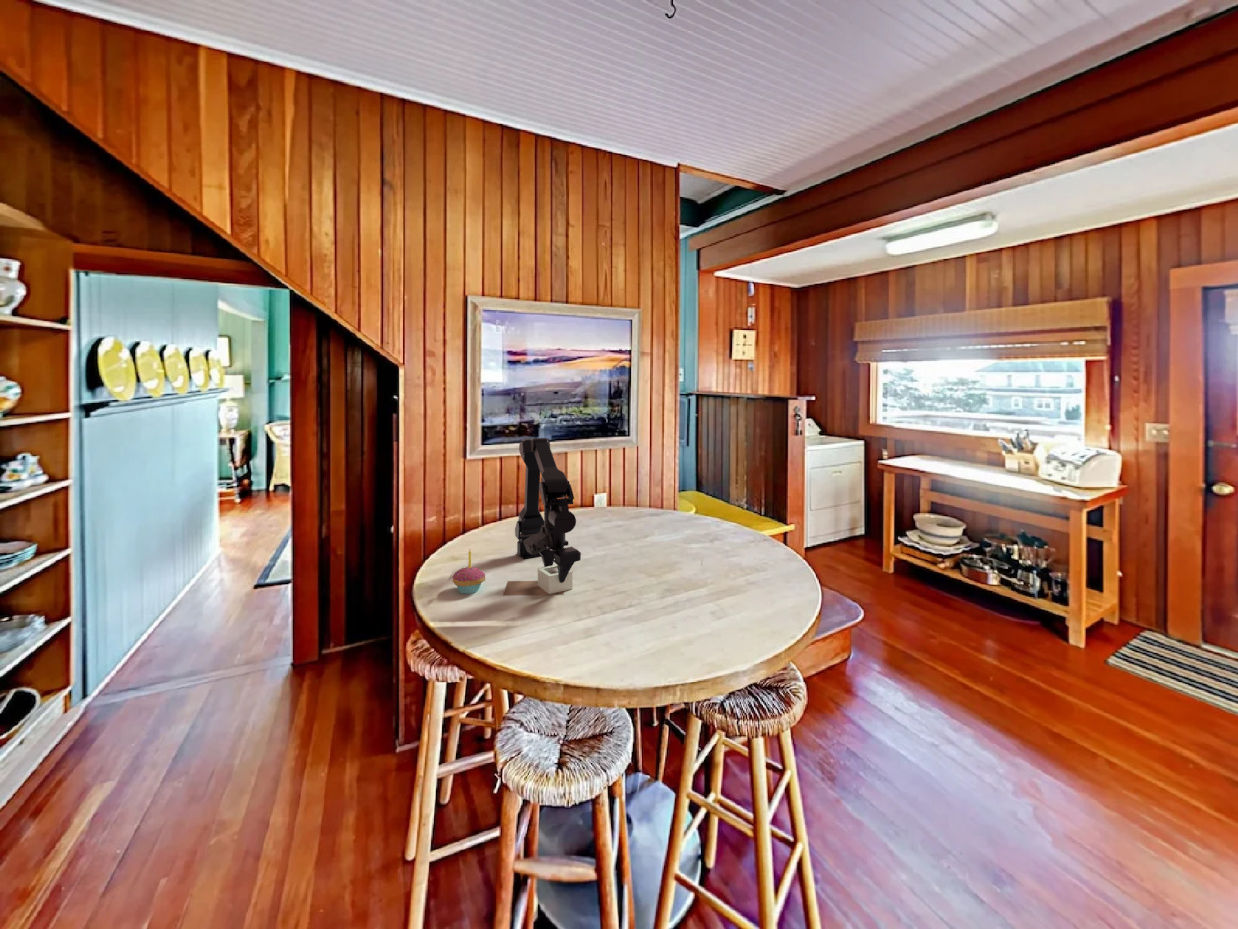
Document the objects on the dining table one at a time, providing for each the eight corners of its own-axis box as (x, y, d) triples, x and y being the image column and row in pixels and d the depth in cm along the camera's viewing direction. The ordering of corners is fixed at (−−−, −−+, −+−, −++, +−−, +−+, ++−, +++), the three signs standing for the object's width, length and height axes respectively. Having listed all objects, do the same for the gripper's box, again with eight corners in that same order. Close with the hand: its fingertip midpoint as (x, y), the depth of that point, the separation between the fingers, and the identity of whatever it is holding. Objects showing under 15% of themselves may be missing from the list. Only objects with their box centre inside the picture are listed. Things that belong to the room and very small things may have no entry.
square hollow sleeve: (560, 580, 159) (560, 563, 158) (572, 588, 153) (572, 571, 152) (537, 585, 155) (537, 568, 154) (549, 594, 149) (549, 576, 149)
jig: (565, 583, 159) (565, 563, 158) (563, 598, 150) (563, 576, 149) (507, 584, 158) (507, 564, 157) (502, 598, 148) (502, 577, 147)
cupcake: (456, 587, 156) (455, 546, 154) (488, 587, 156) (486, 545, 154) (450, 600, 147) (448, 556, 145) (483, 599, 148) (482, 555, 146)
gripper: (513, 518, 154) (513, 572, 157) (543, 536, 139) (543, 595, 142) (549, 513, 160) (549, 565, 163) (582, 529, 145) (581, 586, 148)
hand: (554, 577), depth 154 cm, fingers open, 8 cm apart
